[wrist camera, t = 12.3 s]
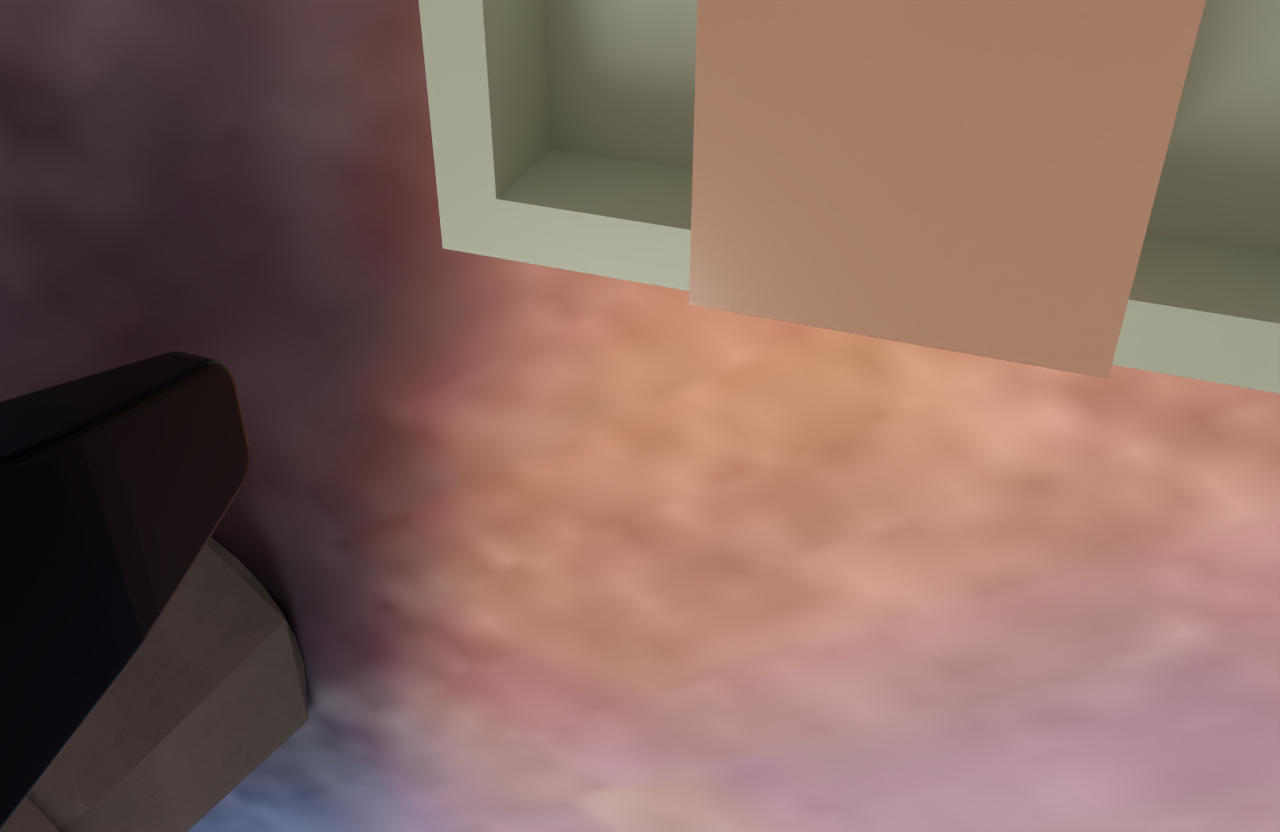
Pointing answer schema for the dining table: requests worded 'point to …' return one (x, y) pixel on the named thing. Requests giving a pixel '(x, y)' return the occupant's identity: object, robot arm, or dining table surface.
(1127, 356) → the green bin
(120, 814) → the coffeepot
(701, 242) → the tan block
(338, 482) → the dining table surface
